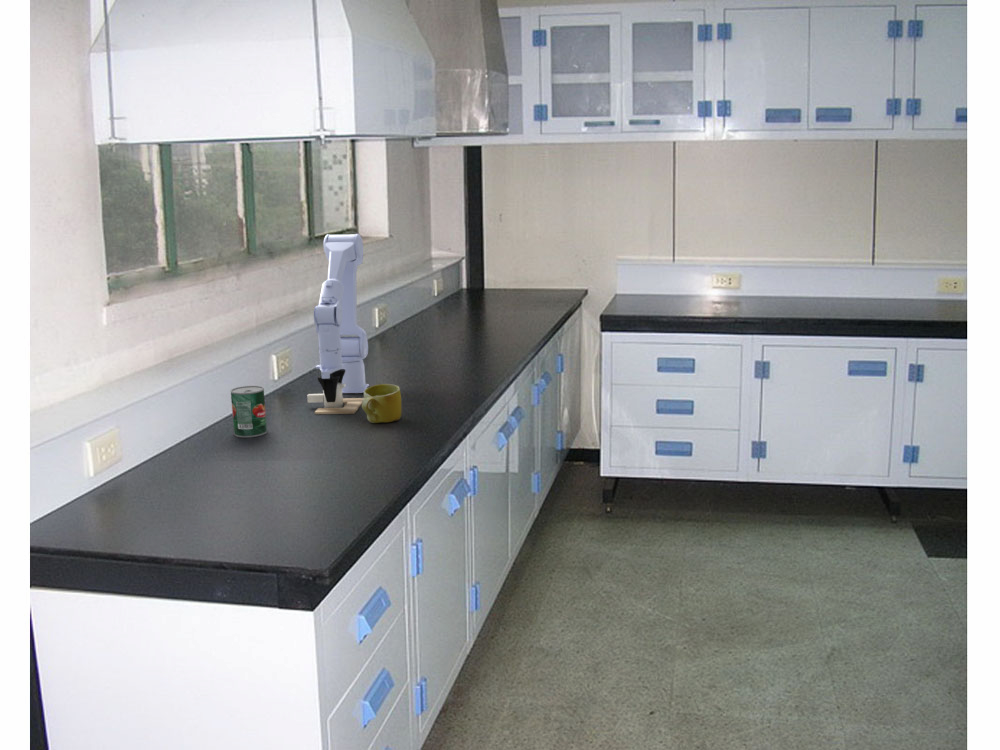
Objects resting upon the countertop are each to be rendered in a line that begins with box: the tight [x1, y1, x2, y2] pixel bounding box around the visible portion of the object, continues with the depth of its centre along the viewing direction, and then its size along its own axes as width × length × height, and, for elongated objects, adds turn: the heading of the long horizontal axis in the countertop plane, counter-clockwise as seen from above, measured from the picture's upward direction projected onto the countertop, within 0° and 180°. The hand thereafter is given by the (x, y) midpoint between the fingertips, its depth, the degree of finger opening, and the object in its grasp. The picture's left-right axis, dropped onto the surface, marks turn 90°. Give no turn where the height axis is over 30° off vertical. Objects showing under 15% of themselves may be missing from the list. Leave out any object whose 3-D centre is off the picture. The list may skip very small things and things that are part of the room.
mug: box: [361, 383, 402, 424], centre depth 259 cm, size 12×10×10 cm
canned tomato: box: [230, 385, 268, 438], centre depth 250 cm, size 8×8×11 cm
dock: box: [314, 397, 364, 415], centre depth 275 cm, size 14×10×1 cm
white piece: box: [306, 383, 345, 408], centre depth 274 cm, size 10×5×6 cm, turn 88°
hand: (333, 399), depth 275 cm, fingers closed on white piece, 5 cm apart
